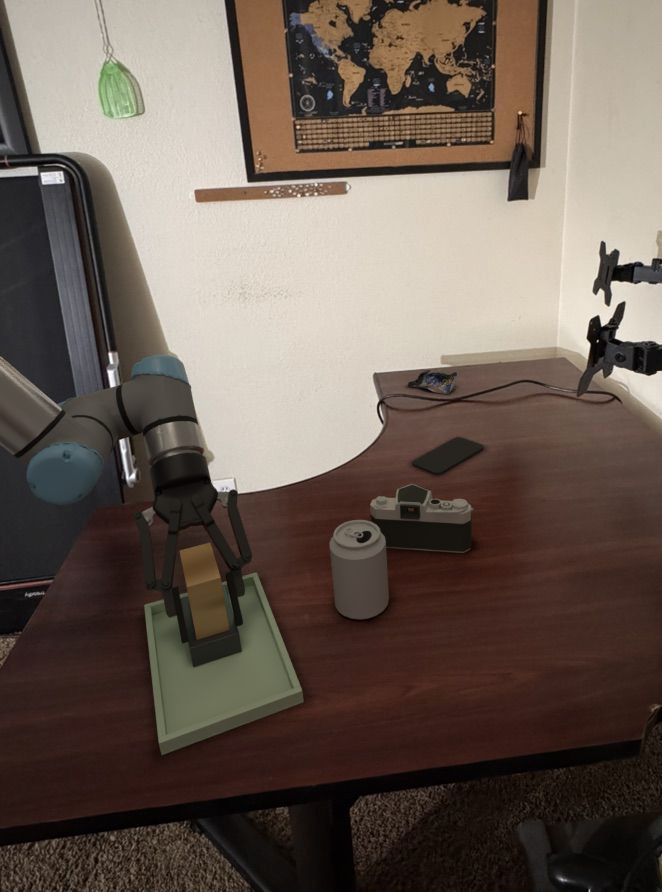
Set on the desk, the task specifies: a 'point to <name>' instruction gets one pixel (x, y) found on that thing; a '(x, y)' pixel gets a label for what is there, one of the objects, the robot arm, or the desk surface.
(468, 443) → the phone
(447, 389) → the snack package
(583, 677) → the desk surface
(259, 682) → the tray
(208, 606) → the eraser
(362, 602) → the can
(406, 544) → the camera
